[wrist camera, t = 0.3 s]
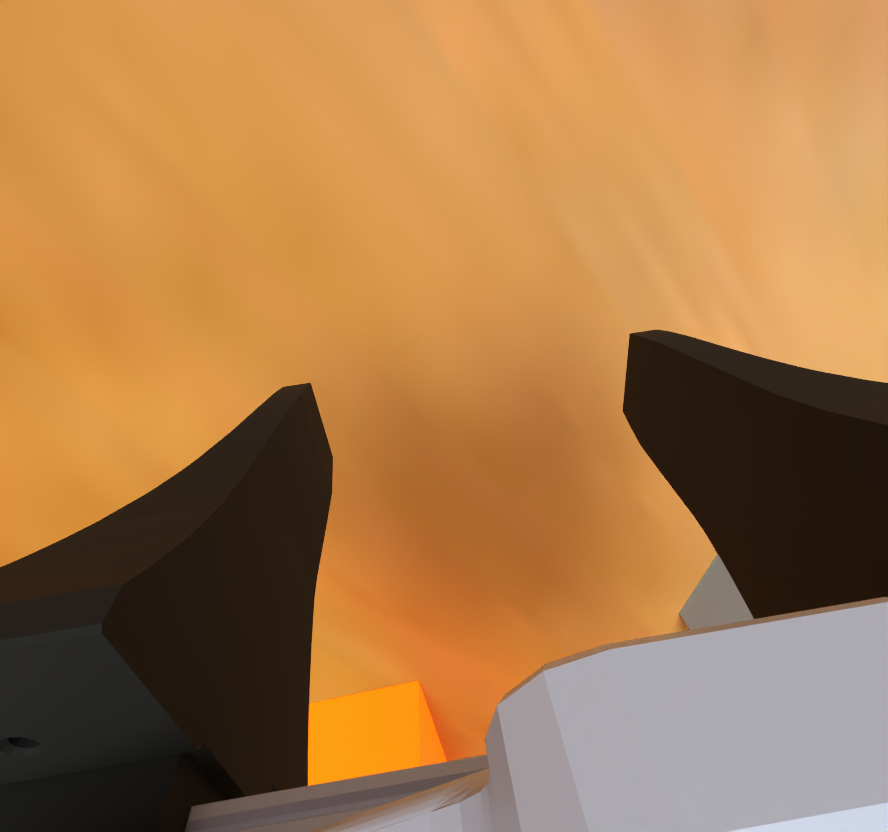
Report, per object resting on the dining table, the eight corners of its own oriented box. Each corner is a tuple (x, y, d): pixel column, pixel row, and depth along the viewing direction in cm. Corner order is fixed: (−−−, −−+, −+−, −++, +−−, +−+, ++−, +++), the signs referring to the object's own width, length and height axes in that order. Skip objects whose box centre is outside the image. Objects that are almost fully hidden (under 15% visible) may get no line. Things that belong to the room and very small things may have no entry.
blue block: (748, 626, 30) (794, 684, 27) (677, 611, 29) (716, 670, 26) (794, 563, 28) (851, 617, 25) (720, 545, 28) (768, 599, 24)
